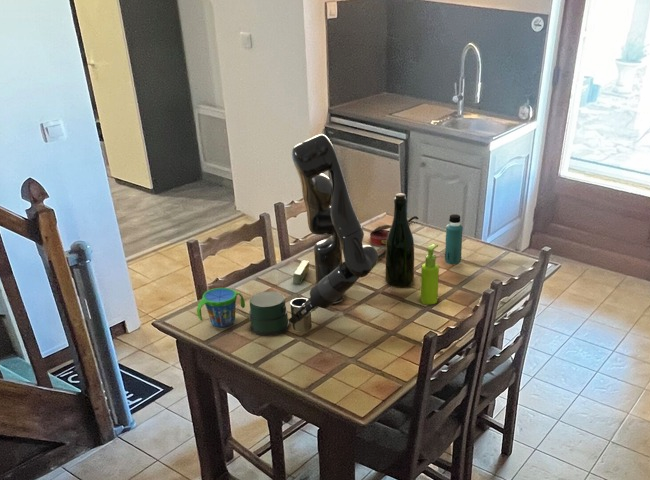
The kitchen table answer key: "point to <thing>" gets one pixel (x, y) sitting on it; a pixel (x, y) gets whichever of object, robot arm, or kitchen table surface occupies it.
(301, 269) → the medication box
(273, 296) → the green lidded canister
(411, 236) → the wine bottle
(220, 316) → the snack cup
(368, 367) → the kitchen table surface
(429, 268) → the soap dispenser
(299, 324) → the tumbler
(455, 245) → the beverage bottle
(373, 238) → the canned food
